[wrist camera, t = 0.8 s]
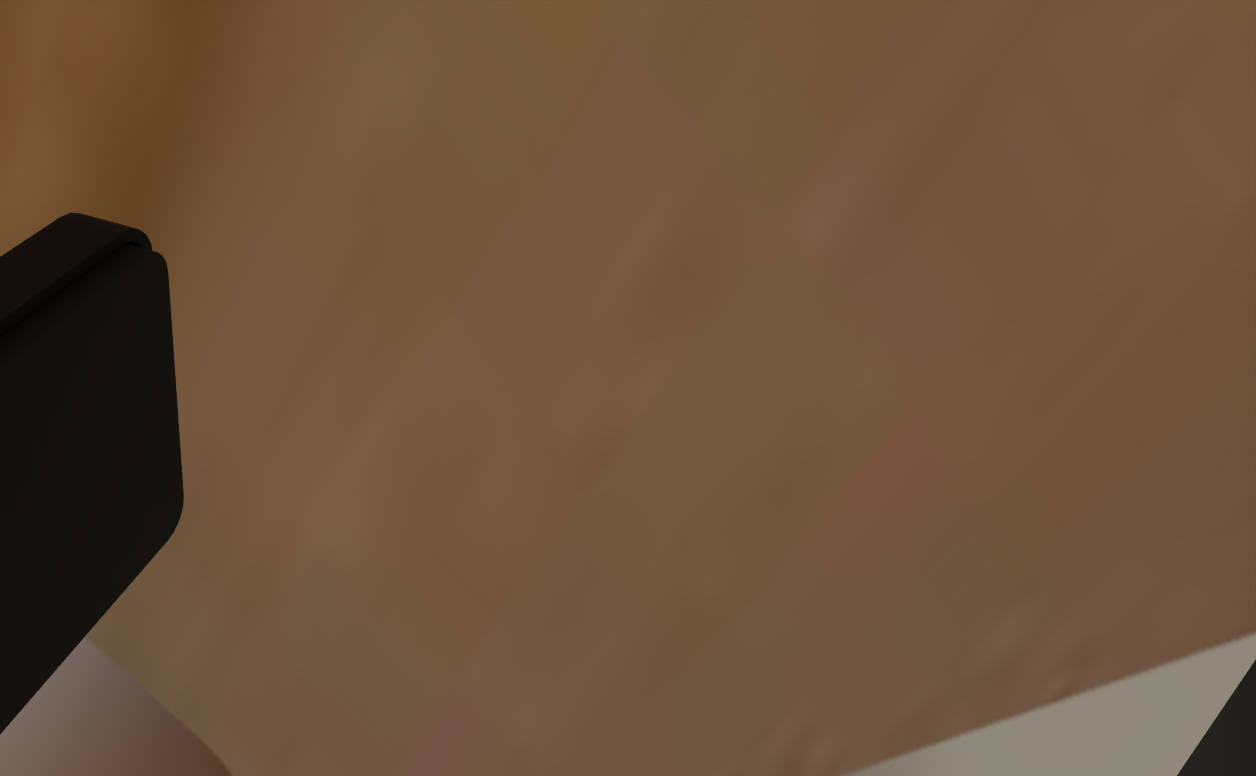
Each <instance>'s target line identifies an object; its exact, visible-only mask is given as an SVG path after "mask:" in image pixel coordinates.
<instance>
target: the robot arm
mask: <svg viewBox="0 0 1256 776" xmlns="http://www.w3.org/2000/svg"><path fill="white" fill-rule="evenodd" d="M183 499H184V494H183V480H182V465H181V451H180V436H179V422H178V407H177V393H176V378H175V364H174V350H173V335H172V321H171V306H170V292H169V277H168V269H167V263H166V261H165V259H164V257H163V256H162V255H161V254H159V253H158V252H155V251H152V245H151V243H150V241H149V239H148V237H147V235H146V234H145V233H143V232H142V231H141V230H139V229H136V228H132V227H129V226H125V225H121V224H118V223H114V222H110V221H106V220H103V219H99V218H95V217H92V216H88V215H84V214H81V213H69V214H67V215H64V216H62V217H60V218H58V219H57V220H55V221H54V222H52V223H51V224H49V225H48V226H46V227H45V228H43V229H42V230H40V231H39V232H37V233H36V234H34V235H33V236H31V237H30V238H28V239H27V240H25V241H24V242H22V243H21V244H19V245H18V246H16V247H15V248H13V249H11V250H10V251H8V252H7V253H5V254H4V255H2V256H1V257H0V734H1V733H2V732H3V731H4V729H5V728H6V727H7V726H8V725H9V724H10V722H11V721H12V720H13V719H14V718H15V717H16V715H17V714H18V713H19V712H20V711H21V710H22V709H23V707H24V706H25V705H26V704H27V703H28V702H29V700H30V699H31V698H32V697H33V696H34V695H35V694H36V692H37V691H38V690H39V689H40V688H41V687H42V685H43V684H44V683H45V682H46V681H47V680H48V679H49V677H50V676H51V675H52V674H53V673H54V672H55V670H56V669H57V668H58V667H59V666H60V665H61V663H62V662H63V661H64V660H65V659H66V657H68V655H69V654H70V653H71V652H72V651H73V649H74V648H75V647H76V646H77V645H78V644H79V643H80V642H81V640H82V639H83V638H84V637H85V636H86V635H87V633H88V632H89V631H90V630H91V629H92V628H93V626H94V625H95V624H96V623H97V622H98V621H99V620H100V618H101V617H102V616H103V615H104V614H105V613H106V611H107V610H108V609H109V608H110V607H111V606H112V605H113V603H114V602H115V601H116V600H117V599H118V598H119V596H120V595H121V594H122V593H123V592H124V591H125V589H126V588H127V587H128V586H129V585H130V584H131V583H132V581H133V580H134V579H135V578H136V577H137V576H138V574H139V573H140V572H141V571H142V570H143V569H144V568H145V566H146V565H147V564H148V563H149V562H150V561H151V559H152V558H153V557H154V556H155V555H156V554H157V552H158V551H159V550H160V549H161V548H162V547H163V546H164V544H165V543H166V542H167V541H168V540H169V538H170V537H171V535H172V534H173V532H174V530H175V528H176V526H177V524H178V522H179V519H180V516H181V513H182V508H183ZM1177 776H1256V660H1255V661H1254V663H1253V664H1252V666H1251V667H1250V669H1249V670H1248V672H1247V673H1246V675H1245V676H1244V678H1243V679H1242V681H1241V682H1240V684H1239V685H1238V687H1237V688H1236V689H1235V691H1234V693H1233V694H1232V695H1231V697H1230V698H1229V700H1228V701H1227V703H1226V704H1225V706H1224V707H1223V709H1222V710H1221V712H1220V713H1219V715H1218V716H1217V717H1216V719H1215V720H1214V722H1213V723H1212V725H1211V727H1210V728H1209V729H1208V731H1207V732H1206V734H1205V735H1204V737H1203V738H1202V740H1201V741H1200V743H1199V744H1198V746H1197V747H1196V748H1195V750H1194V751H1193V753H1192V754H1191V756H1190V757H1189V759H1188V760H1187V762H1186V763H1185V765H1184V766H1183V768H1182V769H1181V771H1180V772H1179V774H1178V775H1177Z"/></svg>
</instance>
